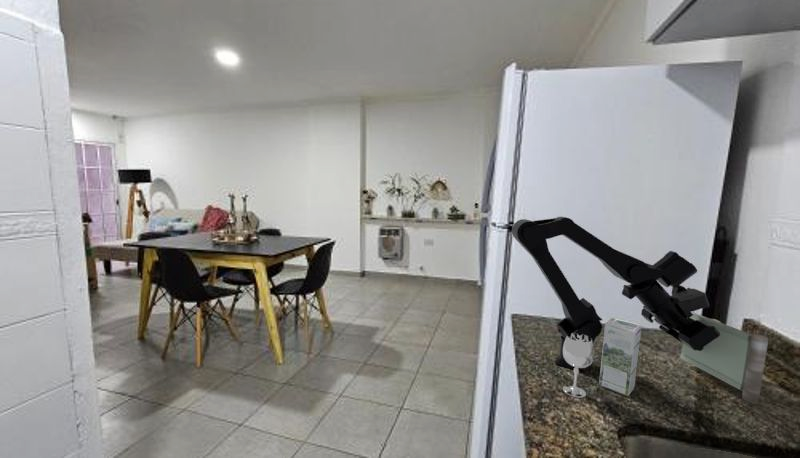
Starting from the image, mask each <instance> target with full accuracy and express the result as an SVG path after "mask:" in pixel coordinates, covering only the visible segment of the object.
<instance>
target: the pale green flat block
mask: <svg viewBox="0 0 800 458" xmlns="http://www.w3.org/2000/svg"><path fill="white" fill-rule="evenodd" d="M691 313H692V314H693V315H692V316H691V317H690V318H691V319H693V320H695V321H696V320H702V321H704V322H706V323H708V324H710V325H712V326H714V327H715V328H716V329H717V330H718V331H719V332H720V336H719V337H717V338H716V339H714V340H713V341H711V342H710V343H709V344H707V345H706V346H704V347H703V348H704V349H703V350H701V351H698V350H693V349H691V348H690V347H688V346H687V345H685V344H684V343H682V346H681V353H680V359H681V360H683V361H685V362H687V363H689V364H691V365H692V366H694V367H696V368H698V369H700V370H702V371H704V372H706V373H707V374H709V375H711V376H714V378H716V379H719V380H720V381H723V382H725V383H726V384H728V385H729V386H731V387H734V388H736V389H737V390H739V391H741V390H743V388H744V381H745V375H746V368H747V362H748V355H749V349H750V342H751V336H752V334H753V333H752V334H751V333H749V332H746V331H743V330H741V329H738V328H735V327H733V326H730V325H728V324H725V323H723V322H721V321H720V322H721V323H720V322H717V321H715V320H712V319H713V318H709V317H706V316H703V315H701V314H699V313H695V311H692V312H691Z"/></svg>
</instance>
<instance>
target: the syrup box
mask: <svg viewBox="0 0 800 458" xmlns="http://www.w3.org/2000/svg"><path fill="white" fill-rule="evenodd" d="M603 333H604V334H603V342H602V352H601V362H600V373H599V382H598V386H599V387H602V388H603V389H607V390H610V391H612V392H615V393H617V394H620V395H623V396H626V397H629V396H630V395H631V393H632V392H633V390H634V389H635V387H636V386H635V385H636V377H637V364H638V358H639V350H640V343H641V336H642V325H641V324H639V323H635V322H630V321H626V320H623V319H619V318H615V317H611V318H610V319H608V320H607V322H605V324H604V332H603Z"/></svg>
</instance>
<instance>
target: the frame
mask: <svg viewBox="0 0 800 458" xmlns="http://www.w3.org/2000/svg"><path fill="white" fill-rule="evenodd" d="M711 319H712V320H715V321H717V322H720V323H722V322H721V321H720V320H718V319H715V318H711ZM768 343H769V337H767V336H766V335H763V334H759V333H758V334H757V333H752V336H751V342H750V349H749V355H748V362H747V368H746V375H745V381H744V388H743V390H740V391H741V392H742V393H741V394H742V396H741V399H742V400H743V401H744V402H746V403H748V404H751V405H758V404H759V400H760V398H761V388H762V381H763V375H764V369H765V363H766V355H767V352H768V351H767V350H768Z"/></svg>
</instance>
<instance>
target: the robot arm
mask: <svg viewBox="0 0 800 458" xmlns="http://www.w3.org/2000/svg"><path fill="white" fill-rule="evenodd" d="M512 225H513V226H512V228H511V234H512V236H513V238H514V239H515V241H517V242H518V243H519V245H520V246H521V247H522V248H523V249H524V250H525V251H526V252H527V253H528V254H529V255H530V256H531V257H532V259H533V260H534V261H535V264H536V265H537V266H538V268H539V270H540V271H541V273H542V274H543V276H544V278H545V280H546V281H547V282H548V284H549V285H550V288H552V291H553V292H554V294H555V295H556V297H557V298H558V300H559V301H560V303H561V307H562V311H563V314H564V316H565V317H564V318H563V319H562V320H560V321H559V322H557V323H556V328H557V329H556V330H557V331H558V333H559V334H560V335H561V336H560V342H559V343H560V344H559V345H560V346H559V354H558V356H557V357H556V359H555V360H554V364H556V365H558V366H561V367H565V368H567V369H571V370H574V368H575V367H573V366H571V365H570V364H568V363H567V362H566V361H565V359H564V357H563V345H564V342H565V339H566V336H567V334H569V333H579V334H583V335H586V336H588V337H590V338H591V339H592V343H593V344H594V342H595V340H596V338H597V337H599V336H600V335H601V333H602V330H603V325H602V322H601V321H603V318H602V317H600V316H599V315H598V313H597V310H596V309H595V308H596V307H595V306H594V305H593V304H592V303H591V302H589V301H588V300H587V299H586V298H584V297H582V298H581V299H580V298H579V297H578V295H577V293H576V292H575V290H574V289H573V287H572V286H571V284H570V283H569V281H568V279H567V277H566V276H565V274H564V272H563V271H562V269H561V268H560V267H559V265H558V263H557V262H556V260H555V258H554V257H553V255H552V254H551V252H550V250H549V246H548V245H549V244H548V242H547V240H549V239H552V238H555V237H559V236H564V237H565V238H566V239H567V240H569V241H571V242H572V243H574V244H576V245H577V246H579V247H580V248H581V249H583V250H585V251H586V252H587V253H589V254H591V255H592V256H593V257H595V258H597V259H598V261H600V262H601V263H602V265H603V266H604V267H605V268H606V270H608V271H609V272H610V273H611V274H612V275H613V276H614V277H616V278H618V279H620V280H622V281H624V282H626V283H628V284H624V285H623V289H622V291H621V294H622V296H624V297H626V298H627V299H629V300H632V299H634V298H635V297H636V298H637V299H638V300H639V302H640V303H641V304H642V305H643V306H642V307H643V308H642V309H641V314H640V315H641V316H642V317H643V318H644V319H645V320H646V321H647V322H649V323H651V324H653V323H654V322H656V323H657V324H658V325H659V326H658V328H659V329H660V330H661V331H663V332H664V333H666V334H668V335H670V336H672V338H674V339H675V340H677V341H678V342H680V343H682V344H683V343H684V344H685V345H687V346H688V347H690V348H691V349H693V350H698V351H701V350H703V349H704V348H703V347H704V346H706V345H707V344H709V343H710V342H711V341H713V340H714V339H716V338H717V337H719V336H720V332H719V331H718V330H717V329H716V328H715V327H714V326H712V325H710V324H708V323H706V322H704V321H702V320H696V321H695V320H693V319H691V318H690V317H691V316H692V315H693V314H692V313H691V312H695V311H699V310H701V309H708V308H709V307H710V303H709V300H708V298H707V297H708V296H707V294H706V293H705V292H703V291H701V290H699V289H696V288H690V287H687V288H686V287H684V286H683V285H682V284H683V283H684V282H685V281H687V280H688V279H690V278H691V277H693V276H695V274H696V273H698V269H697V268H696V266H695V265H694V264H693V263H692V262H689V261H688V260H687V259H686V258H684V257H682V256H681V255H679V254H678V253H677V252H676V251H674V250H669V251H668V252H667V253H665V254H664V256H663V257H661V258H660V259H659V260H658V261H656V262H655V263H653V264H650V263H647V262H644V261H643V260H640V259H638V258H636V257H634V256H632V255H629V254H626V253H625V252H622V251H619V250H617V249H615V248H613V247H612V246H611V245H609V244H607V243H606V242H604V241H603V240H601V239H600V238H598V237H597V236H595V235H594V234H592V233H591V232H589V231H587V230H586V229H585V228H583V227H582V226H580V225H578V224H577V223H576V222H574V220H573V219H572V218H569V217H566V216H557V217H553V218H547V219H539V220H537V219H536V220H529V219H526V218H525V219H524V218H523V219H518V220H517V221H516V222H515V223H514V224H512ZM664 287H666V288H669V287H672V288H671V294H670V293H669V292H667V290H666V289H665V288H664ZM653 317H654V318H653ZM586 368H587V367H586ZM586 368H578V369H579V372H582V373H585V370H586Z"/></svg>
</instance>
